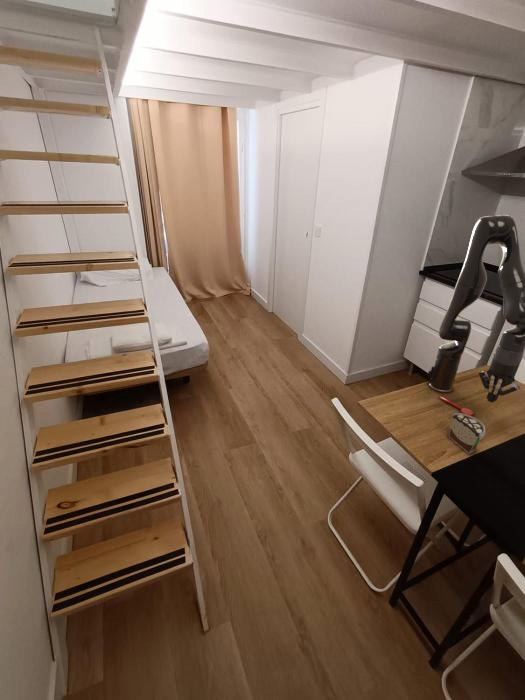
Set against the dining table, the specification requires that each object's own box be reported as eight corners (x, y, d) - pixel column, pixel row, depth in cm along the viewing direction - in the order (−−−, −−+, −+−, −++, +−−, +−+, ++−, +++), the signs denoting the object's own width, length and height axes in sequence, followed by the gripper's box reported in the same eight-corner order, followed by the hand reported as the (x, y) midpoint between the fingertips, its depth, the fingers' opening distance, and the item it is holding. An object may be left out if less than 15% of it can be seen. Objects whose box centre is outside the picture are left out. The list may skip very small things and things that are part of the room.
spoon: (436, 399, 144) (437, 397, 143) (443, 396, 146) (443, 394, 145) (468, 417, 133) (469, 415, 132) (475, 414, 134) (475, 412, 134)
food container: (486, 453, 115) (495, 431, 110) (472, 457, 113) (481, 434, 109) (458, 430, 125) (465, 409, 121) (445, 434, 124) (452, 412, 119)
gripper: (534, 365, 107) (516, 407, 116) (493, 348, 118) (478, 388, 126) (522, 371, 104) (504, 414, 112) (480, 353, 114) (466, 394, 123)
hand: (490, 400), depth 119 cm, fingers closed
